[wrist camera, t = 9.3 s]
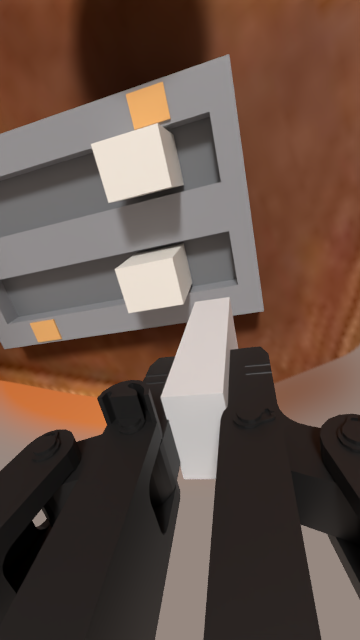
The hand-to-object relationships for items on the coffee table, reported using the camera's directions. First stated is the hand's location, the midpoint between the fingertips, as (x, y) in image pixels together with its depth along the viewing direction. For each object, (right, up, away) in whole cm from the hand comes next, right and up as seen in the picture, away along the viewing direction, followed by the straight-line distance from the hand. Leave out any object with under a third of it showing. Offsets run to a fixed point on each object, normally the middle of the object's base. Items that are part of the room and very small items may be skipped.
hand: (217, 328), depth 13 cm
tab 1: (-4, +14, +14) cm, 20 cm away
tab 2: (-3, +6, +18) cm, 19 cm away
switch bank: (-10, +10, +19) cm, 24 cm away
